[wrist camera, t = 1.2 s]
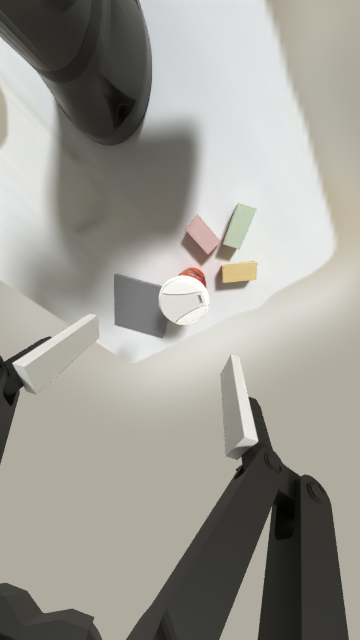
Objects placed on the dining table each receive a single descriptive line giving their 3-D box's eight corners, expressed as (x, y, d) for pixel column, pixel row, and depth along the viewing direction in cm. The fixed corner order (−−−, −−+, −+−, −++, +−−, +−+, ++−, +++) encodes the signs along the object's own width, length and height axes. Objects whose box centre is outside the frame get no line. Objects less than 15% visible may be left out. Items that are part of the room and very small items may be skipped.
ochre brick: (222, 279, 33) (223, 283, 30) (221, 264, 31) (222, 267, 29) (252, 276, 31) (255, 279, 29) (253, 260, 30) (257, 263, 27)
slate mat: (116, 274, 36) (114, 274, 36) (172, 289, 35) (171, 290, 35) (116, 322, 43) (114, 324, 43) (163, 336, 42) (162, 337, 42)
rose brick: (187, 229, 30) (185, 229, 27) (198, 216, 28) (197, 214, 26) (208, 253, 31) (208, 254, 28) (220, 241, 29) (220, 241, 27)
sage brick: (235, 206, 27) (238, 203, 24) (252, 211, 26) (256, 208, 24) (222, 243, 30) (223, 244, 27) (237, 248, 29) (239, 249, 27)
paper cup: (203, 256, 31) (199, 269, 19) (214, 291, 34) (215, 321, 22) (169, 270, 34) (146, 288, 21) (182, 301, 36) (167, 333, 24)
